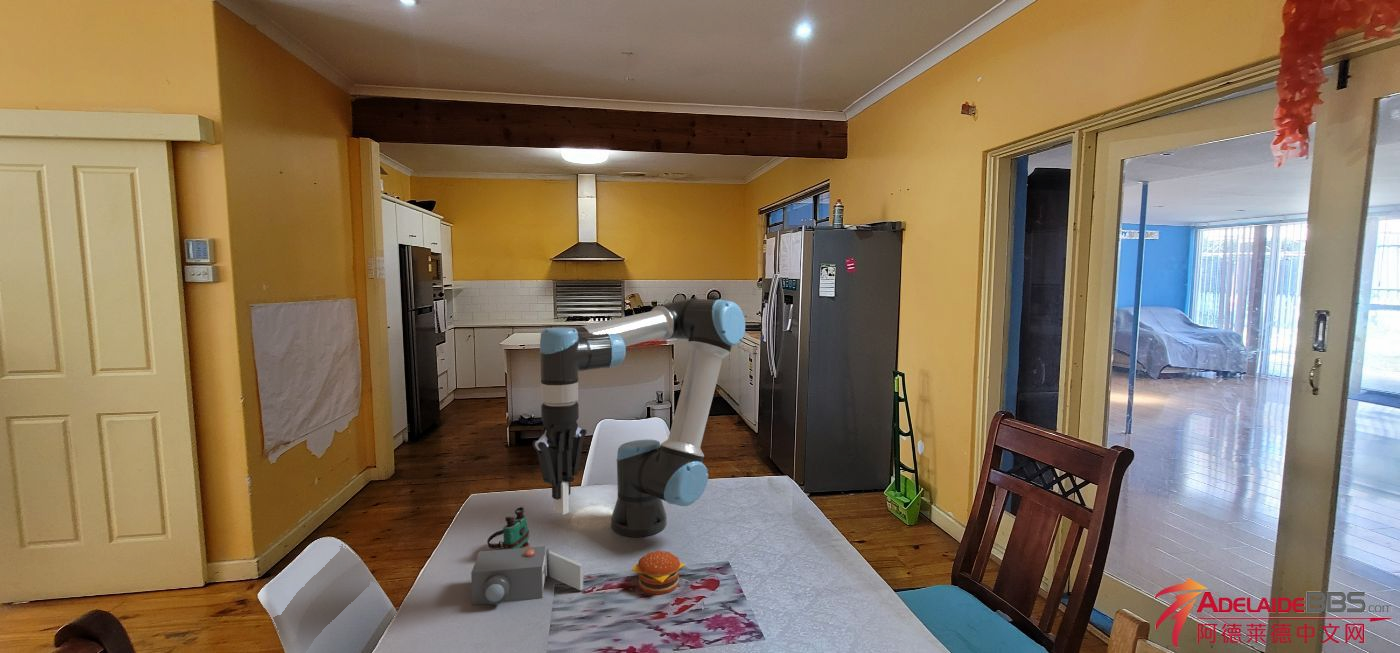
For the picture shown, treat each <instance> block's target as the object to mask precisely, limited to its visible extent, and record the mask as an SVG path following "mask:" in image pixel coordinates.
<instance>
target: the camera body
mask: <svg viewBox="0 0 1400 653" xmlns="http://www.w3.org/2000/svg"><path fill="white" fill-rule="evenodd" d="M470 575H471V576H470V577H471V578H470V579H471V603H472V605H484V604H488V605H499V604H501V603H503V602H504V603H505V602H506V603H507V602H514V601H524V600H525V601H526V600H535V599H536V600H537V599H543V597H544V596H543V594H544V588H545V582H546V577H547V564H546V546H543V545H542V546H530V547H528V548H516V549H504V550H497V549H493V550H482V551H479V553H478V555H477V558H476V560H475V563H474V565H473V568H472V570H471V572H470Z"/></svg>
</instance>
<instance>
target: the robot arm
mask: <svg viewBox="0 0 1400 653" xmlns="http://www.w3.org/2000/svg"><path fill="white" fill-rule="evenodd" d="M745 331H746V320H745V315H744V314H743V310H742V308H741V307H740V306H739V305H738V304H737V303H735V301H734V302H733V301H731V300H723V299H721V298H720V299H704V298H703V299H701V298H687V299H682V300H677V301H673V302H669V303H664V304H660V305H656V306H655V307H653V308H652V309H651V310H650V311H647V312H641V313H637V314H632V315H627V316H623V317H618V318H614V319H609V320H608V319H607V320H604V321H600V322H594V323H590V324H586V325H581V326H576V327H562V326H560V327H547V328H544V329H543V330H541V332H540V338H539V340H540V341H539V355H540V356H539V357H540V358H539V359H540V360H539V361H540V397H541V398H540V401H541V402H542V404H541V405H540V407H541V408H540V409H541V410H540V411H541V413H540V414H541V415H540V416H541V421H542V424H543V428H542V432H541V436H540V437H539V439H538V440H535V439H534V440H533V441H532V446H533V448H534V450H535V451H536V455H537V458H538V462H539V467H540V472H541V477H542V480H543V483H546V484H550V485H551V498H552V500H553V502H554V504H553V506H554V508H553V509H554V511H553V512H555V513H558V514H560V515H566V514H568V513H570V504H569V503H570V498H569V496H570V495H571V483H573V482H574V481H575V477H574V476H577V475H578V474H579V472H580V471H579V469H580V464H581V463H580V462H581V457H582V456H581V455H582V449H583V444H584V440H585V438H586V435H587V430H586V429H585V428H581V427H579V424H578V420H579V418H580V416H579V415H580V414H579V410H580V409H579V403H578V402H577V401H579V372H583V371H590V370H598V369H608V368H611V367H616V366H619V365H621V364H622V363H623V361H624V360H625V358H626V351H627V350H626V347H629V346H633V345H637V344H641V343H644V342H649V341H652V340H657V339H658V340H661V341H666V340H671V339H673V340H674V339H677V340H688V341H687V344H688V346H689V348H690V356H689V360H688V363H687V366H686V371H685V374H684V379H683V382H682V386H681V390H680V393H679V397H678V400H677V404H676V409H675V412H674V416H673V419H672V423H671V428H670V431H669V434H668V438H667V439H666V440H664V441H663V442H662V443H661V442H660V441H659V440H656V439H637V440H631V441H628V442H624V443H623V444H620V446H619V447H618V448H617V458H616V475H617V476H616V480H617V482H616V483H617V499H616V502H615V504H614V508H613V510H612V514H611V518H610V521H611V522H610V526H611V529H612V531H613V532H615V533H617V534H618V535H620V536H621V535H622V536H625V537H631V538H634V537H635V538H637V537H638V538H639V537H641V538H642V537H648V536H651V535H656V534H657V533H661V532H662V531H663V530H665V529H666V527H667V523H668V522H667V518H668V517H667V512H666V509H665V507H664V504H663V501H664V502H667V504H669V505H675V506H678V507H688V506H691V505H693V504H694V503H695V502H696V501H698V500H699V499H700V498H701V497H702V495H703V494H704V492H705V490H706V488H707V485H708V482H709V472H708V468H707V466H706V465H705V464H704V463H703V462H704V458H705V454H704V453H703V451H702V449H701V447H702V446H701V445H702V441H703V438H704V434H705V430H706V425H707V422H708V419H709V418H708V417H709V414H710V410H711V406H712V402H713V398H714V394H715V390H716V388H717V382H718V379H719V375H720V371H721V366H722V363H723V359H724V358H726V357H727V356H729V355H730V354H731V352H732V351H731V350H732V346H733V347H734V346H736V345H738V344H740V342H741V341H742V340H743V338H744V336H745Z"/></svg>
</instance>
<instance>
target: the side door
mask: <svg viewBox="0 0 1400 653" xmlns="http://www.w3.org/2000/svg"><path fill="white" fill-rule="evenodd" d="M545 558H546V577H550V578H553V579H554V580H556V581H558V582H561V583H563V584H566V585H568V586H570V587H572V588H574V589H576V590H578V591H582V590H584V564H583V563H580V562H578V561H575V560H573V559H570V558H568V557H566V556H563V555H561V554H558V553H556V552H554V551H552V549H551V548H547V549H545Z"/></svg>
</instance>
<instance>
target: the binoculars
mask: <svg viewBox="0 0 1400 653" xmlns="http://www.w3.org/2000/svg"><path fill="white" fill-rule="evenodd" d="M514 513H515V515H516V517H515V516H506V517H504V518H505V519H504V520H505V522H506V525H505V526H503V528H502V529H500V530H498V531H496V532H494V533H493V534H491V535H490V536H489V537H488V538H487V541H486V543H487V547H488V548H490V549H494V550H504V549H516V548H528V547H531V546H530V543H529V542H528V540H529V539H530V530H529V526H528V520H527V516H526V515H525V514H524V513H525V508H524V506H520V507H517V508H516V509H515V510H514ZM500 535H503V541H498V543H493V544H492V543H490V542H491V541H492V540H493V539H494V538H495V537H498V536H500Z"/></svg>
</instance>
